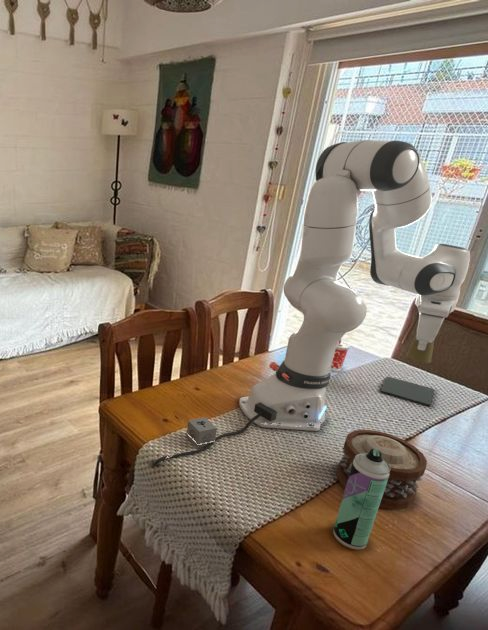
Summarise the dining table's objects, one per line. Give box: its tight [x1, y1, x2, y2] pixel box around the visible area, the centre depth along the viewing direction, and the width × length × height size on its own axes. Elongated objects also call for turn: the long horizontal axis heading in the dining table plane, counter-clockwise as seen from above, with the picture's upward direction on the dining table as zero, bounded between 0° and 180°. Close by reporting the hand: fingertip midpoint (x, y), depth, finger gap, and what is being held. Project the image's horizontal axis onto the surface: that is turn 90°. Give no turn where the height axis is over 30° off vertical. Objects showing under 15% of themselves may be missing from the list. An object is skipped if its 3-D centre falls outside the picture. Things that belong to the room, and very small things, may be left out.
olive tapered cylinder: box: [405, 324, 440, 364], centre depth 128 cm, size 6×6×11 cm
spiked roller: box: [336, 429, 428, 510], centre depth 95 cm, size 15×11×15 cm
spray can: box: [332, 449, 390, 551], centre depth 80 cm, size 6×6×20 cm
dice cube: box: [185, 416, 218, 450], centre depth 111 cm, size 5×5×5 cm
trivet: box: [380, 376, 435, 407], centre depth 134 cm, size 12×12×1 cm
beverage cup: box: [330, 339, 351, 372], centre depth 146 cm, size 6×6×14 cm
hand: (421, 345), depth 129 cm, fingers closed on olive tapered cylinder, 4 cm apart
